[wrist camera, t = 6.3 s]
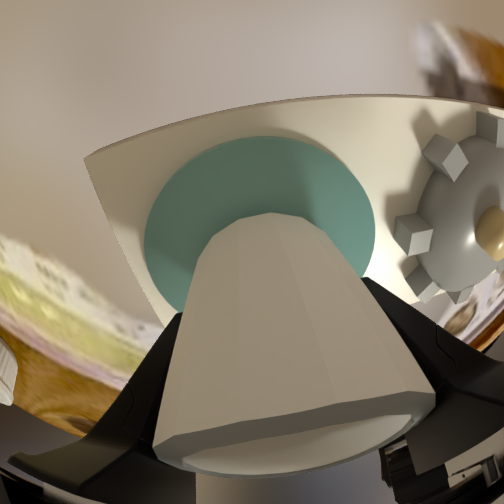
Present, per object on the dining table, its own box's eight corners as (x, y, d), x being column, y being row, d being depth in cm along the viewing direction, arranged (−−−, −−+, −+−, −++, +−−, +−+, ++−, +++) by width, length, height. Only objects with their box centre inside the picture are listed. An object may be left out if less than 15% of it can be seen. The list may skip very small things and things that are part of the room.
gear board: (515, 111, 9) (565, 134, 5) (488, 259, 16) (519, 295, 12) (98, 149, 10) (42, 188, 6) (182, 333, 17) (176, 394, 13)
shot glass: (166, 200, 9) (91, 413, 3) (366, 195, 9) (494, 355, 3) (193, 336, 12) (187, 481, 7) (334, 326, 13) (376, 457, 7)
